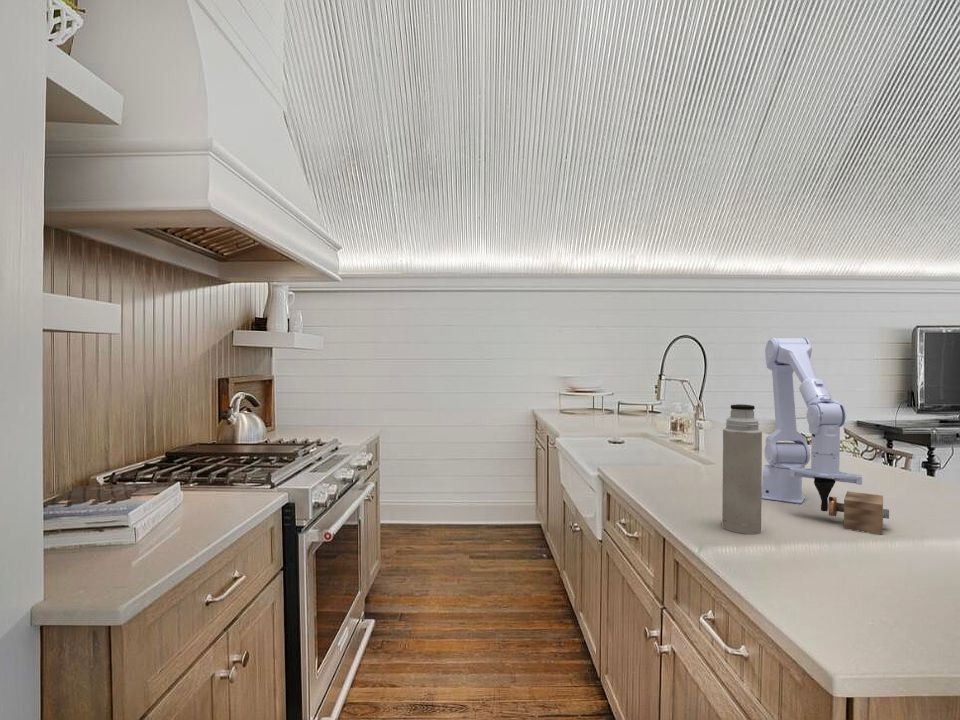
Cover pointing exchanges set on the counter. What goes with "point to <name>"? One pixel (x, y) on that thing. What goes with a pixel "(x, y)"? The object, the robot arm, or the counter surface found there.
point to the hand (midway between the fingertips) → (824, 510)
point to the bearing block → (863, 512)
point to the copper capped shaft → (839, 507)
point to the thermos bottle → (742, 471)
